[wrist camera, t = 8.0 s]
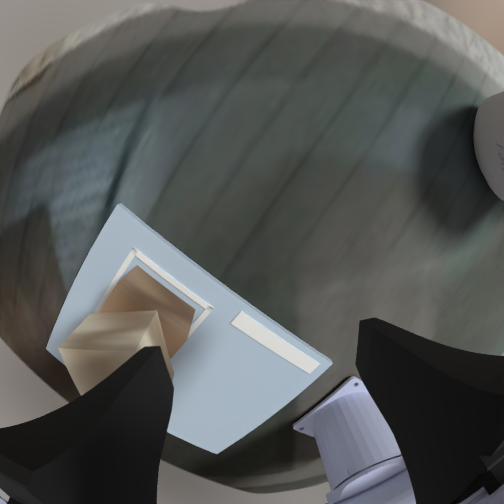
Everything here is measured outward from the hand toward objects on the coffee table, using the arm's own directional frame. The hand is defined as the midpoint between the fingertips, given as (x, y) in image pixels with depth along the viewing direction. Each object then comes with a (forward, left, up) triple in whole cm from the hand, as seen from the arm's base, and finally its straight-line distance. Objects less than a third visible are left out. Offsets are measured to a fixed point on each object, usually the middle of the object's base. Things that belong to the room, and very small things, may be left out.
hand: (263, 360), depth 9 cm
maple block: (+4, +7, -5) cm, 9 cm away
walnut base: (+4, +7, -9) cm, 12 cm away
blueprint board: (0, +10, -10) cm, 14 cm away
